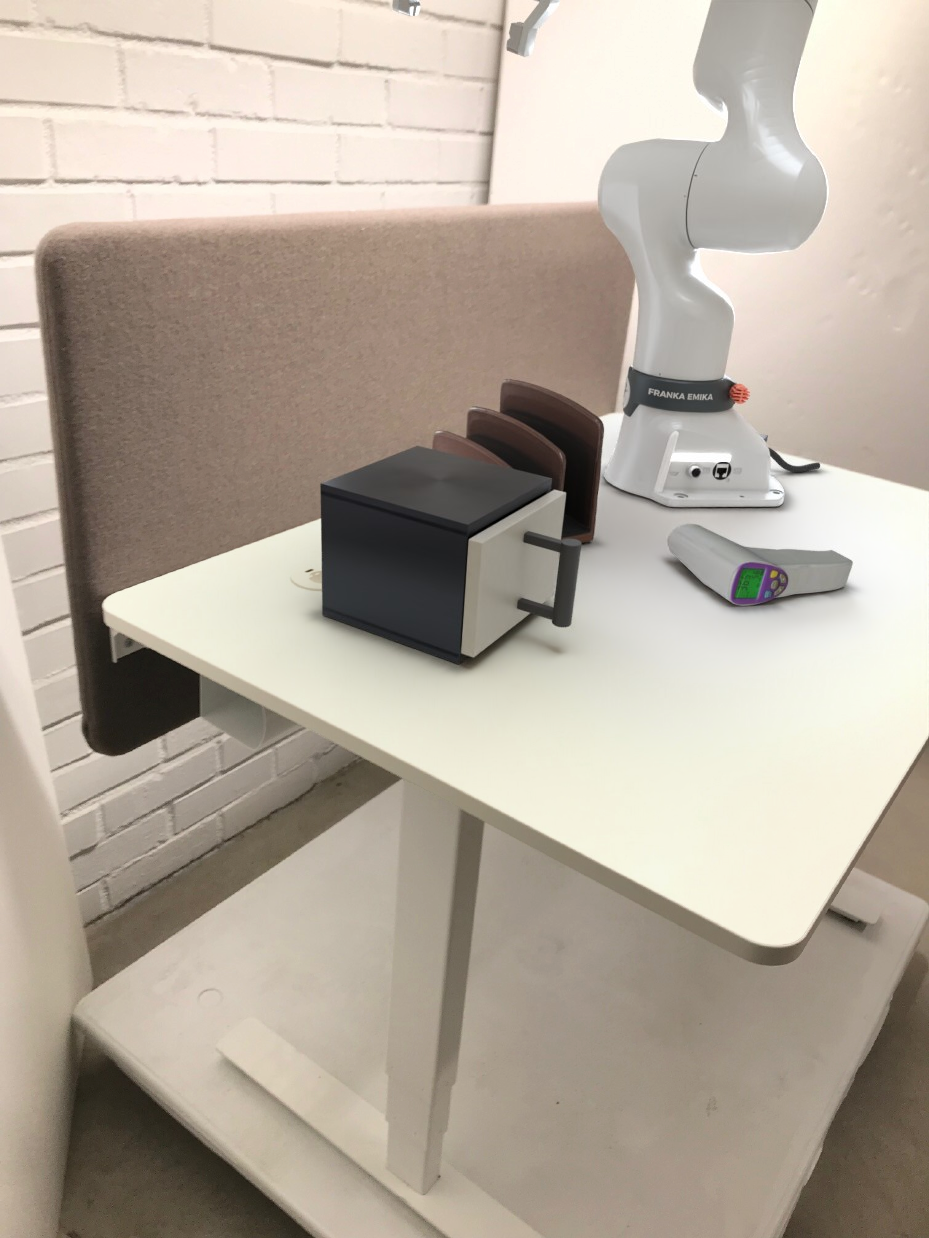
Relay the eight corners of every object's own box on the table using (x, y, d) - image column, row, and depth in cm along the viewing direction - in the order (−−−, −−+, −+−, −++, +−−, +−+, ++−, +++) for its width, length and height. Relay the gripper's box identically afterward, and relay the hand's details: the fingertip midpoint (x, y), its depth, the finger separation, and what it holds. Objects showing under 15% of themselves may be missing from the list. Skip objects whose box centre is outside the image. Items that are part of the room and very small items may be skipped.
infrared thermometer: (851, 599, 90) (732, 610, 84) (769, 552, 100) (657, 559, 93) (865, 557, 88) (745, 565, 82) (780, 513, 98) (667, 517, 91)
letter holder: (499, 484, 112) (508, 369, 105) (594, 543, 97) (612, 412, 90) (427, 493, 107) (432, 374, 101) (515, 556, 92) (528, 420, 86)
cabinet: (538, 603, 83) (552, 478, 77) (459, 664, 72) (468, 524, 67) (412, 563, 89) (417, 445, 84) (322, 615, 78) (320, 483, 73)
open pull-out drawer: (603, 609, 80) (618, 505, 75) (527, 677, 69) (540, 559, 64) (426, 555, 88) (430, 458, 84) (333, 608, 77) (332, 499, 72)
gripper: (670, -165, 58) (601, 74, 67) (393, -247, 62) (363, -10, 71) (645, -176, 54) (575, 83, 63) (347, -264, 57) (322, -7, 66)
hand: (460, 33), depth 67 cm, fingers open, 8 cm apart
